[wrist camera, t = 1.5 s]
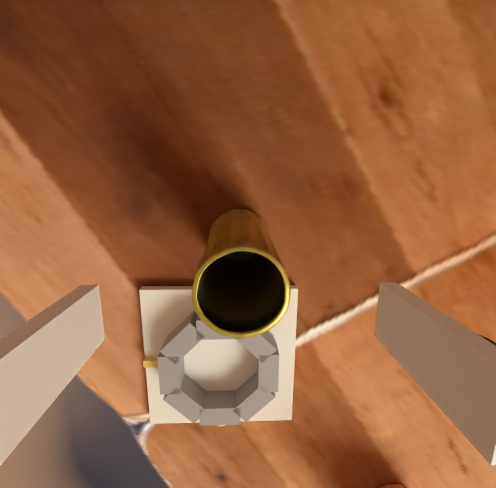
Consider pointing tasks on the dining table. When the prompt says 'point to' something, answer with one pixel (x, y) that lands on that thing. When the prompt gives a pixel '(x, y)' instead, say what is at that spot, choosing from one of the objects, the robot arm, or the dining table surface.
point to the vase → (240, 278)
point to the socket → (213, 364)
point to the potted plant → (392, 486)
